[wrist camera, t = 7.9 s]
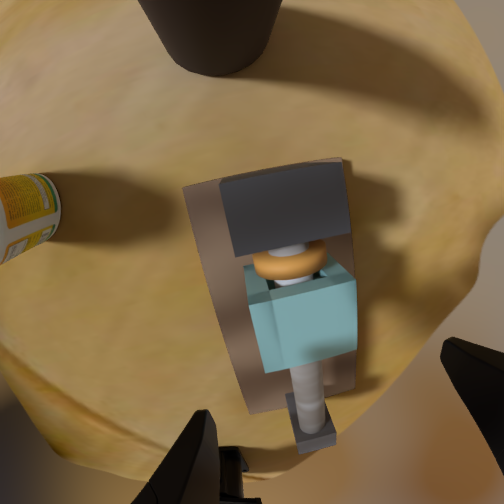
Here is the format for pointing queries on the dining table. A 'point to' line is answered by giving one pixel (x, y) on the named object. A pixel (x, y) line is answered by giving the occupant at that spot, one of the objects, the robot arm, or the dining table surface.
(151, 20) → the water bottle
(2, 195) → the supplement bottle
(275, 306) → the sleeve
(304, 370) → the rod stand
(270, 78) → the dining table surface
